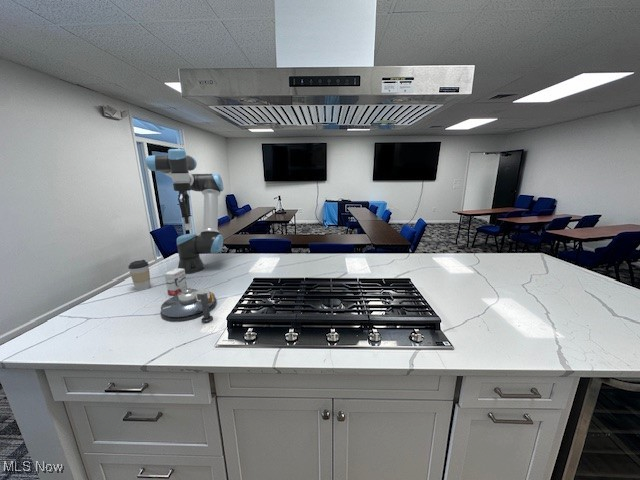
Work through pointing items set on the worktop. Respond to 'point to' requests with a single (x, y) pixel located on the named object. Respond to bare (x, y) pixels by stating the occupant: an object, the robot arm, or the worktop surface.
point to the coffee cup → (140, 274)
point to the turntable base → (187, 317)
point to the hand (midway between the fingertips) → (188, 229)
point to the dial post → (204, 304)
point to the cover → (187, 296)
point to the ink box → (176, 281)
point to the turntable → (183, 307)
